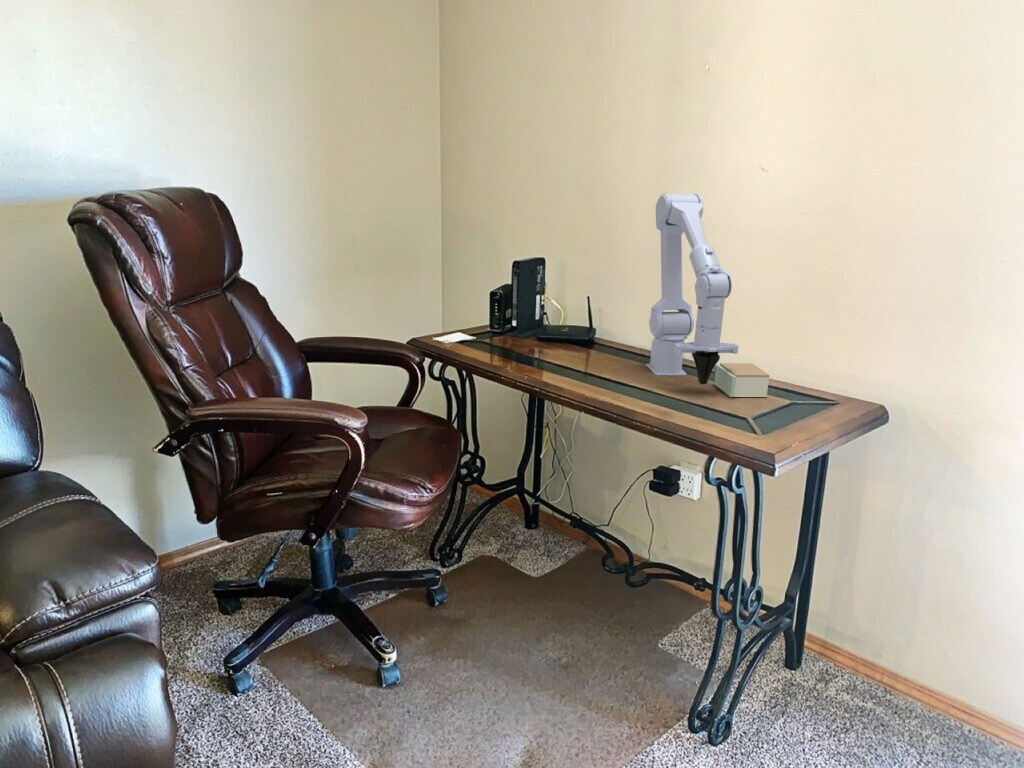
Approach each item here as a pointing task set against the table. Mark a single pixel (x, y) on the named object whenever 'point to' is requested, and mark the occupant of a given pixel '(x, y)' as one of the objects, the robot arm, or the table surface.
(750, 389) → the cabinet
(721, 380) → the door
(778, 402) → the table surface
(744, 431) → the table surface
